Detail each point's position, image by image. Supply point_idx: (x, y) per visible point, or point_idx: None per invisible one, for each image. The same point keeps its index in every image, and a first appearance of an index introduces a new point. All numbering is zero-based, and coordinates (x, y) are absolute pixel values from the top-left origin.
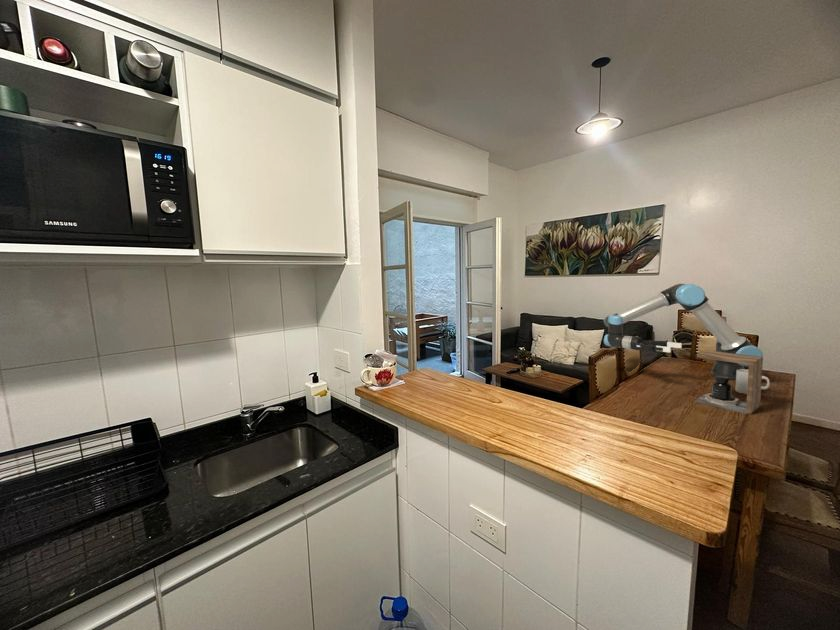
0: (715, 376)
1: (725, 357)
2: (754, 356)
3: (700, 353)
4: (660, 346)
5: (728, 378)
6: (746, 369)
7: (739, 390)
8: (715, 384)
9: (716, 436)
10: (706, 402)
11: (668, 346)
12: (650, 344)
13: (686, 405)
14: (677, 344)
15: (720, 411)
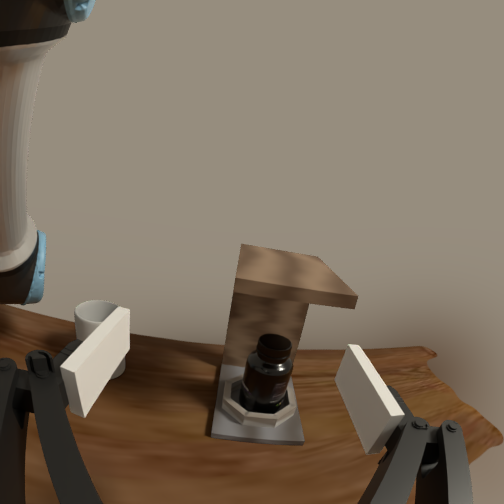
0: (283, 350)
1: (322, 270)
2: (248, 247)
3: (329, 291)
4: (387, 388)
5: (276, 334)
6: (76, 308)
7: (116, 371)
8: (291, 369)
9: (427, 379)
10: (300, 421)
11: (90, 404)
12: (377, 493)
13: (353, 447)
14: (118, 334)
15: (321, 401)
